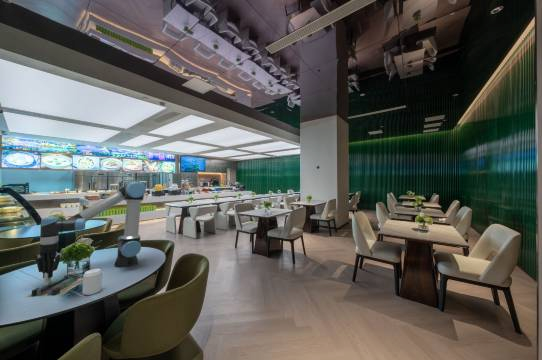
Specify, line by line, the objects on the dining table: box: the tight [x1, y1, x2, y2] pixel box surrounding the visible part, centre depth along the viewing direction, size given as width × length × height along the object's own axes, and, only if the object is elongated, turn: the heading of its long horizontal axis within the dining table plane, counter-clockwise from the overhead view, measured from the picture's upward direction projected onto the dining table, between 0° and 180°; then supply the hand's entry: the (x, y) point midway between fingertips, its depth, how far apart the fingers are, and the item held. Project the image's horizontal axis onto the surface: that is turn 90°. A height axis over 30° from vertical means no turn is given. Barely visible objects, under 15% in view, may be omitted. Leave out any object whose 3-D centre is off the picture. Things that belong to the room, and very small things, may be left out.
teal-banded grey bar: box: [46, 274, 78, 297], centre depth 120 cm, size 7×20×3 cm, turn 10°
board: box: [25, 277, 83, 298], centre depth 120 cm, size 17×21×1 cm
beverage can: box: [82, 268, 103, 296], centre depth 116 cm, size 8×8×12 cm
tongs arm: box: [30, 272, 77, 297], centre depth 119 cm, size 6×21×4 cm, turn 5°
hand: (47, 283), depth 120 cm, fingers closed
